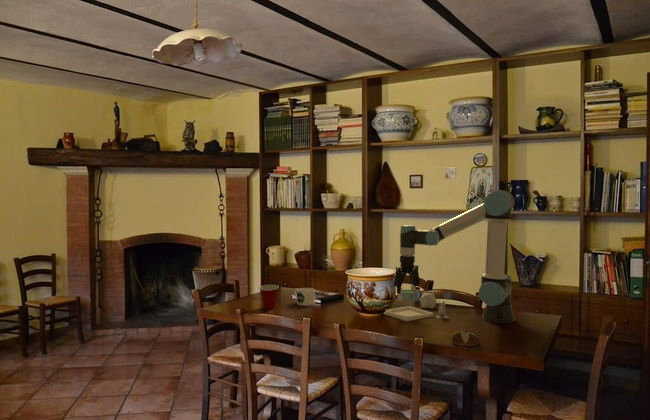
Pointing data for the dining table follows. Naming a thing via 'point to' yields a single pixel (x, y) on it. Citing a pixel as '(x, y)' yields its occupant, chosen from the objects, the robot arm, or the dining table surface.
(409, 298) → the grey-green rounded block
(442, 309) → the grey pedestal column
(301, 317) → the dining table surface
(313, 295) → the mug
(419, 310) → the tray
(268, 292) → the plastic cup
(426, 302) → the die
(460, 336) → the bread
